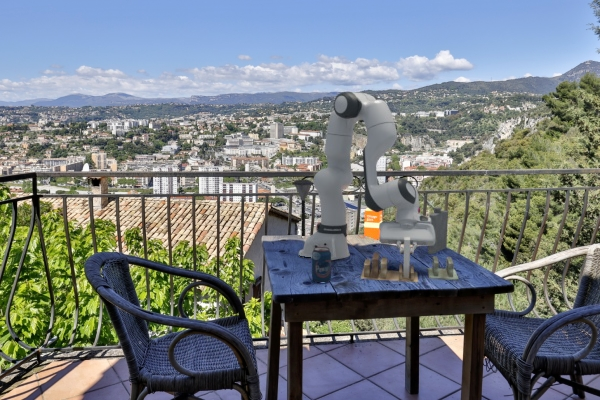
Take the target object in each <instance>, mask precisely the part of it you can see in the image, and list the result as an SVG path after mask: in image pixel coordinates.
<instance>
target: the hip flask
mask: <svg viewBox="0 0 600 400" xmlns="http://www.w3.org/2000/svg"><path fill="white" fill-rule="evenodd" d="M428 217H430V218H431V224H432V225H433V227H434V231H435V244H434V245H433V246H427V254H429V255H435V254H436V253H439V252H440V251H442V250H446V249H447V245H448V243H447V242H448V225H449V224H448V223H449V219H448V218H449V211H448V210H443V208H442V207H440V206H433V212H432V213H429V214H428Z"/></svg>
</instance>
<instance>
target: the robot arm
mask: <svg viewBox="0 0 600 400" xmlns="http://www.w3.org/2000/svg"><path fill="white" fill-rule="evenodd" d="M357 122H359V123H364V125H365V131H366V136H367V139H366V145H365V146H364V148H363V150H362V164H363V165H362V166H363V177H364V181H363V182H364V196H363V197H364V198H363V199H364V205H365V206H366V208H367V207H368V208H369V209H370V210H372V211H374V212H380V211H382V212H383V211H384V210H387V209H390V208H394V207H395V208H396V212H395V217H394V218H395V220H389V221H388V220H382V222H381V223H380V224H379V229H380V235H379V240H378V241H379V242H380V243H381V244H385V245H386V244H388V245H396V247H397V248H398V250H399V254H400V255H404V247H402V246H401V245H404V237H410V246H412V247H410V255H412V256H413V255H414V252H415V250H416V249H417V247H418V246H425V247H426V246H427V247H428V246H433V245H434V244H435V231H434V227H433V225H432V224H431V218H430V217H429V216H426V215H423V214H420V213H419V212H418V209H419V207H420V197H419V192H418V188H417V187H416V186H415V185H413V184H412V183H411V182H410V181H409V180H407V179H405V178H402V177H400V178H397V179H393V180H390V181H387V182H384V183H381V184H378V172H377V171H378V170H377V165H378V162H379V160H380V159H381V157H382V156H383V155H385V154H386V153H387V152H388V151H389V150H390V149H391V148H393V146H394V145H395V143H396V140H397V139H398V138H397V137H398V134H397V129H396V128H397V127H396V124H395V120H394V117H393V114H392V112H391V109H390V107H389V105H388V104H387V102H386V101H385V100H383V99H379V98H378V97H377V96H375V95H374V94H369V93H365V92H361V91H360V92H357V91H356V92H355V91H343V92H340V93H338V94H337V96H336V97H335V98H334V101H333V110H332V111H331V114H330V116H329V118H328V124H327V129H326V135H325V143H324V154H325V156H326V162H327V167H324V168H321V169H320V170H319V171H318V172H316V173H315V175H314V176H313V179H312V182H313V183H314V185H313V186H314V188H315V189H316V191H317V194H318V197H319V202H320V222H317V223H316V232H314V233H312V234H311V235H310V236H309V237H308V238H306V239H305V241H304V244H303V248H302V249H300V250H299V251H298V256H299V255H300V256H305V257H311V258H310V259H312V252H313V250H314V248H316V247H327V248H329V249H330V252H331V261H334V260H338V259H339V260H340V259H345V258H348V257H350V256H351V254H350V250H349V247H348V245H349V244H348V232H349V231H348V223H347V204H346V203H345V200H344V195H343V191H344V190H346V189H348V188H349V187H350V186H351V185H352V183H353V181H354V174H353V172H352V165H351V164H352V163H351V151H352V144H353V143H352V142H353V134H354V127H355V124H356V123H357ZM300 256H299V257H300Z"/></svg>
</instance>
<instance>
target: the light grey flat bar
mask: <svg viewBox="0 0 600 400" xmlns="http://www.w3.org/2000/svg"><path fill="white" fill-rule="evenodd" d="M403 248H404V254H403V264H402V271H403V278H409V272H410V258H411V257H410V256H411V254H410V248H411V245H410V237H404V244H403Z"/></svg>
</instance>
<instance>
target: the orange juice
mask: <svg viewBox="0 0 600 400" xmlns="http://www.w3.org/2000/svg"><path fill="white" fill-rule="evenodd" d="M381 222H383V210H382V211H380V212H374V211H372V210H370V209H369V208H368V207H367V206H366V208H365V210H364V225H363V226H364V227H363V228H364V230H363V231H364V236H367V237H371V238H374V239H373V240H377V239H379V235H380V229H379V224H380V223H381Z"/></svg>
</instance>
